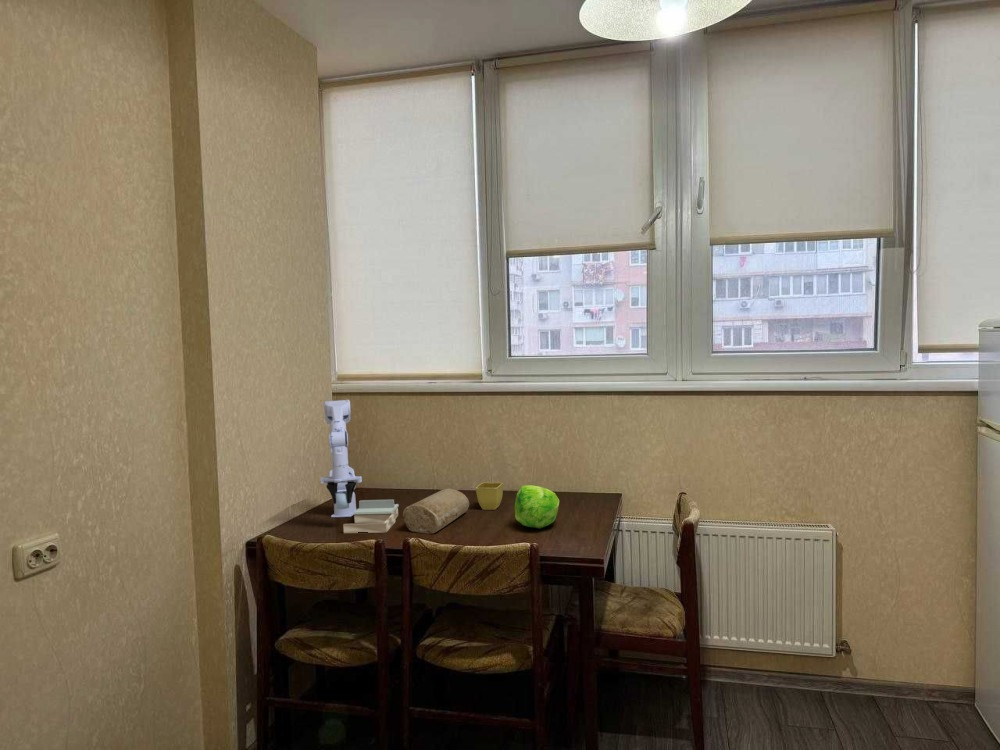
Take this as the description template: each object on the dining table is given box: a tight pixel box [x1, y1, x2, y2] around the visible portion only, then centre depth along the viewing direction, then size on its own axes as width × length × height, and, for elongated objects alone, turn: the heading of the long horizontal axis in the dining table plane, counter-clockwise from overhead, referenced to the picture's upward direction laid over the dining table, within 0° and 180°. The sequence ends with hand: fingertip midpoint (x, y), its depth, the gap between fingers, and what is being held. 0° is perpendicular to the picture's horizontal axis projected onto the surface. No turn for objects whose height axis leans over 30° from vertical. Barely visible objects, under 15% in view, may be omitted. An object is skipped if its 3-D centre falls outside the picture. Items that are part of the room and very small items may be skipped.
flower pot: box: [474, 482, 504, 511], centre depth 251 cm, size 9×9×9 cm
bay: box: [342, 507, 399, 534], centre depth 237 cm, size 20×15×3 cm
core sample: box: [402, 487, 470, 535], centre depth 235 cm, size 14×26×10 cm, turn 159°
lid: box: [354, 499, 399, 515], centre depth 244 cm, size 10×14×4 cm
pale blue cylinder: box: [336, 491, 349, 509], centre depth 234 cm, size 4×4×6 cm
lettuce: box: [514, 484, 560, 530], centre depth 225 cm, size 15×20×14 cm
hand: (342, 502), depth 235 cm, fingers closed on pale blue cylinder, 4 cm apart
